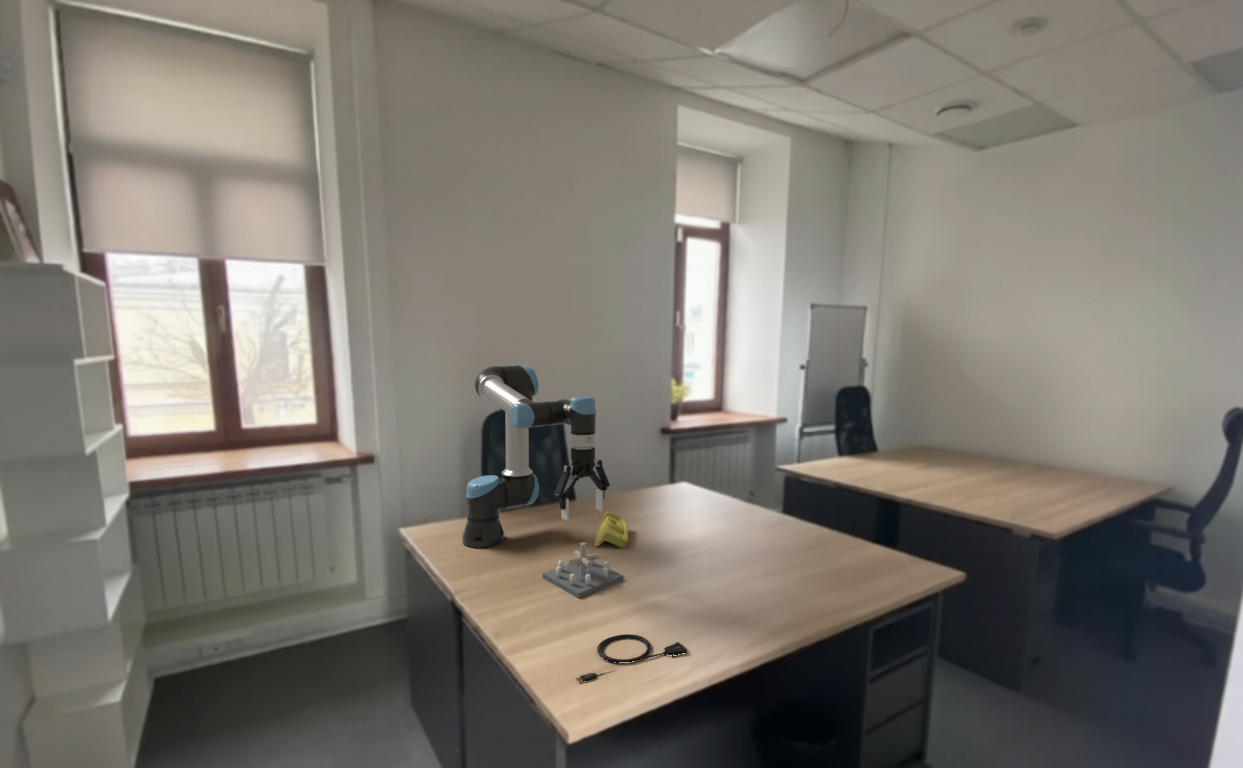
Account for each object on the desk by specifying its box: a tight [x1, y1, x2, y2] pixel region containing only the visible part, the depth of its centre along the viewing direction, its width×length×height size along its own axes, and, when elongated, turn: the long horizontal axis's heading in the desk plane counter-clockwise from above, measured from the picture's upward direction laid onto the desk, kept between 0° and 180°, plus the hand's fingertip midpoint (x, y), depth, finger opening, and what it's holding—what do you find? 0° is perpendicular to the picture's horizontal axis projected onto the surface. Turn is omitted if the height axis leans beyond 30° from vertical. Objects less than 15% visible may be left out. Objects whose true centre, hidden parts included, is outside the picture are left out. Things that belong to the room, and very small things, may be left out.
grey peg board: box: [542, 559, 624, 599], centre depth 169 cm, size 18×18×4 cm
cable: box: [575, 633, 688, 683], centre depth 130 cm, size 14×28×2 cm, turn 115°
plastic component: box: [594, 511, 629, 548], centre depth 204 cm, size 20×7×10 cm
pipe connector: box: [566, 542, 600, 576], centre depth 169 cm, size 10×10×10 cm
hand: (582, 514), depth 168 cm, fingers open, 13 cm apart
